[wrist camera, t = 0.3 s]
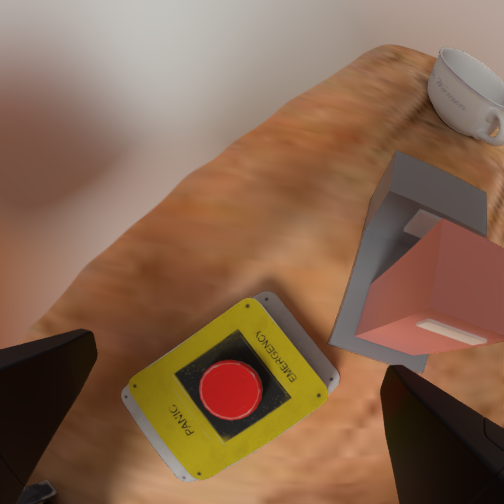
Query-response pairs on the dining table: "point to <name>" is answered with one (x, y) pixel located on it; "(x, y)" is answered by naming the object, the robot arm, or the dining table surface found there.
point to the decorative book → (37, 493)
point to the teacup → (467, 95)
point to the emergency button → (230, 388)
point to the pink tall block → (438, 295)
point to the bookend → (402, 240)
